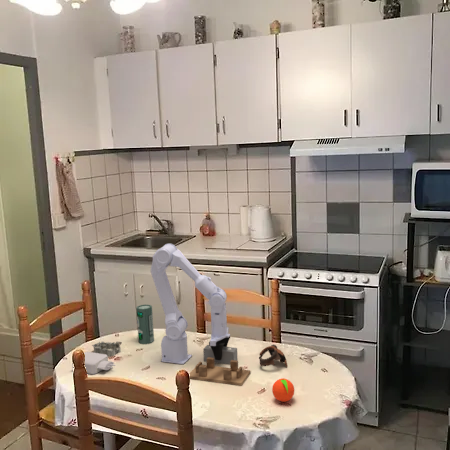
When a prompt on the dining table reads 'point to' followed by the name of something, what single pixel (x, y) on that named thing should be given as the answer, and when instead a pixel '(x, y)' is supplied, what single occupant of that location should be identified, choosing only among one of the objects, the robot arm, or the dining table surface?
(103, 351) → the egg carton
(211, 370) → the rack
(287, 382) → the clementine
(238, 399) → the dining table surface
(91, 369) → the charger
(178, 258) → the robot arm
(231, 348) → the power strip
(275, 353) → the brown open ring
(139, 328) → the can
